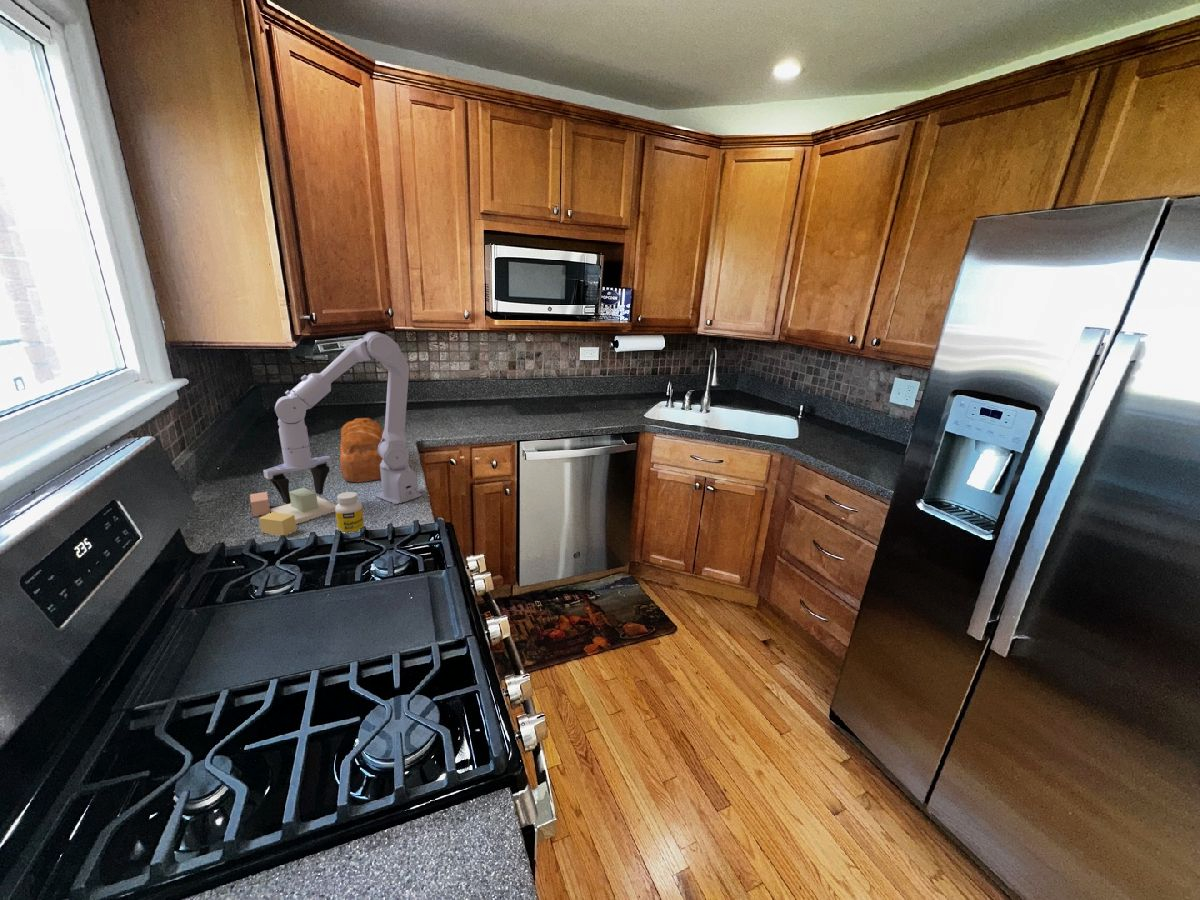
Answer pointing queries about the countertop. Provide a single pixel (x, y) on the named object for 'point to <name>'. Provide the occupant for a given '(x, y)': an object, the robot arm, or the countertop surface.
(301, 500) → the sage brick
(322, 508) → the board
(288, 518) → the mustard brick
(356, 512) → the supplement bottle
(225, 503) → the countertop surface
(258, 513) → the clay brick
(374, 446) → the bread
